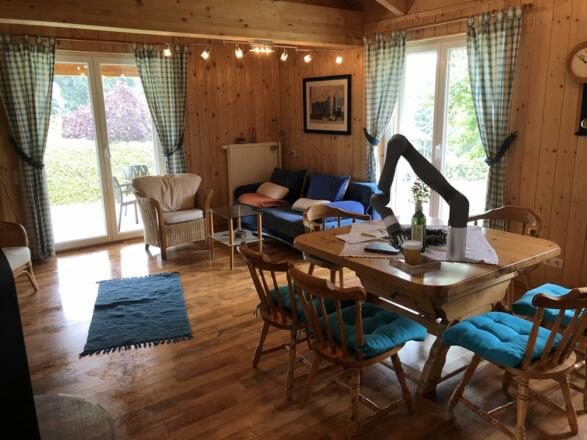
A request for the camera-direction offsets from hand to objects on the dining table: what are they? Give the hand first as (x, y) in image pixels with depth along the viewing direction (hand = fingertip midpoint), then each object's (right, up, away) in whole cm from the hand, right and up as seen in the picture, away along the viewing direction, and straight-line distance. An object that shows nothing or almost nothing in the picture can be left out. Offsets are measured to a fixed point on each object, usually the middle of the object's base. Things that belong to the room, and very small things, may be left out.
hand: (406, 255), depth 230 cm
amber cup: (+2, -5, -3) cm, 6 cm away
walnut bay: (+3, -5, -5) cm, 8 cm away
